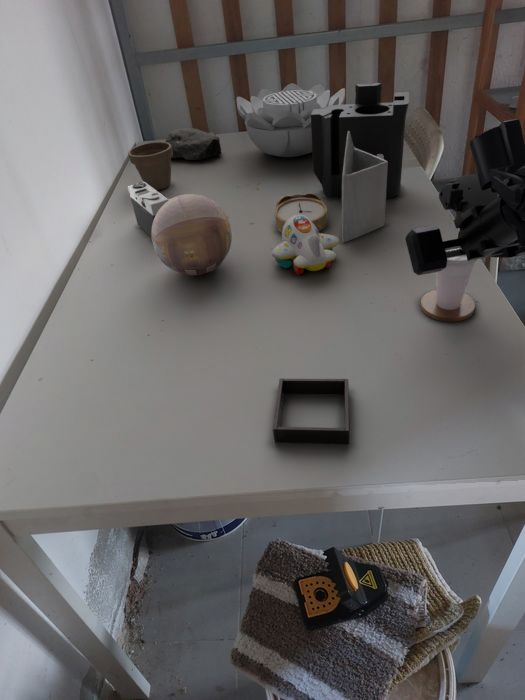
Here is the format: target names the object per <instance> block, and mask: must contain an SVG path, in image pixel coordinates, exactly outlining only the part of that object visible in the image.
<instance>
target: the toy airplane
mask: <svg viewBox="0 0 525 700" xmlns="http://www.w3.org/2000/svg"><path fill="white" fill-rule="evenodd" d="M339 242H340V240H339V238H338V237H337V236H335V235H334V234H328V233H320V231H319V232H318V229H317V228H316V226H315V225H314V223H313V222H312V221H311V220H310V219H309V218H307V217H306V216H304V215H294V216H292V217H290V218H289V219H288V220H287V221H286V223H285V224H284V226H283V230H282V232H281V242H280V243H279V244H277V246H275V247H274V248H273V250H272V252H271V256H272V257H273V258H274V260H275V262H277V264H278V265H279V266H281V267H283V268H286V269H287V268H291V267H292V265H293V270H294V272H295V274H296V275H303V274H304V269H305V270H308V271H311V272H317V271H320V270H322V269H327V268H329V267H330V266H331V262H332V261H334V260H335V259H336V256H337V255H336V252H335V251H334V250H333V248H335V247H337V245H338V244H339Z"/></svg>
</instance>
